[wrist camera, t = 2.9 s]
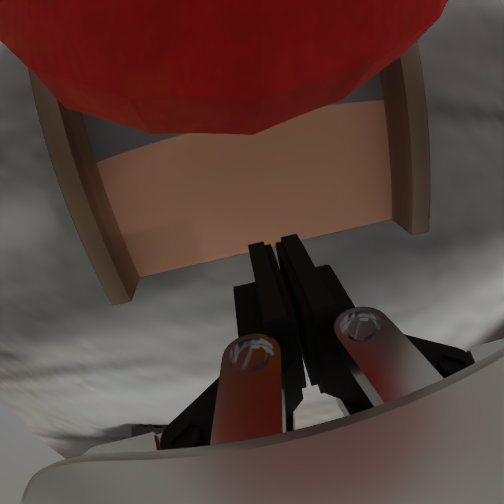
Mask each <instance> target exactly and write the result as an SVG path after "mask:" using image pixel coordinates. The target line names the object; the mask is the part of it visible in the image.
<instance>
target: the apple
mask: <svg viewBox="0 0 504 504" xmlns="http://www.w3.org/2000/svg"><path fill="white" fill-rule="evenodd" d="M447 1H448V0H0V41H1V42H2V43H4V44H5V45H6V46H7V47H8V48H9V49H10V50H11V51H12V52H13V53H14V54H15V55H16V56H17V57H18V58H19V59H20V60H21V61H22V62H23V63H24V64H25V65H26V66H27V67H28V68H29V69H30V70H31V71H32V72H33V74H34V75H35V76H36V77H37V78H38V79H39V80H40V81H41V82H42V83H43V84H44V85H45V86H46V88H47V89H48V90H49V91H50V92H51V93H52V94H53V95H54V96H55V97H56V98H57V99H58V100H59V101H60V102H61V103H62V105H63V106H64V107H65V108H68V109H71V110H75V111H78V112H82V113H85V114H89V115H92V116H96V117H99V118H102V119H105V120H109V121H112V122H115V123H118V124H122V125H125V126H128V127H131V128H134V129H137V130H140V131H143V132H146V133H149V134H173V133H207V134H241V135H255V134H257V133H259V132H261V131H264V130H266V129H268V128H271V127H273V126H276V125H278V124H280V123H283V122H285V121H288V120H290V119H293V118H295V117H298V116H300V115H303V114H305V113H308V112H310V111H313V110H316V109H318V108H321V107H324V106H326V105H329V104H332V103H335V102H337V101H340V100H343V99H344V98H345V97H347V96H348V95H349V94H351V93H352V92H353V91H354V90H356V89H357V88H358V87H360V86H361V85H362V84H364V83H365V82H366V81H368V80H369V79H370V78H372V77H373V76H374V75H376V74H377V73H378V72H380V71H381V70H382V69H384V68H385V67H387V66H388V65H389V64H391V63H392V62H393V61H395V60H396V59H398V58H399V57H400V56H402V55H403V54H404V53H405V52H406V51H407V50H408V49H409V48H410V47H411V46H412V45H413V44H414V43H415V42H416V41H417V40H418V39H419V38H420V37H421V36H422V35H423V34H424V33H425V32H426V31H427V30H428V29H429V28H430V27H431V26H432V25H433V24H434V23H435V22H436V21H437V20H438V19H439V18H440V16H441V14H442V12H443V10H444V7H445V5H446V3H447Z"/></svg>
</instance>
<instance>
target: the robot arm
mask: <svg viewBox="0 0 504 504" xmlns="http://www.w3.org/2000/svg"><path fill="white" fill-rule="evenodd" d="M275 244H276V250H277V255H278V260H279V266H280V269H279V266H278V263H277V260H276V257H275V255H274V252H273V249H272V246H271V244H268V245H265V244H264V242H263V241H262V242H258V243H254V244H249V245H248V249H249V253H250V258H251V263H252V267H253V272H254V277H255V282H253V283H248V284H244V285H240V286H235V287H234V299H235V309H236V318H237V328H238V337H239V338H238V339H236V340H234V341H233V342H232V343H230V344H229V345H228V347H227V348H226V349H225V351H224V354H223V357H222V363H221V370H220V377H219V378H218V379H217V380H215V381H214V382H213V383H212V384H211V385H210V386H209V387H208V388H207V389H206V390H205V391H204V392H203V393H202V394H201V395H200V396H199V397H198V398H197V399H196V400H195V401H194V402H193V403H192V404H190V405H189V406H188V407H187V408H186V409H185V410H184V411H183V412H182V413H181V414H180V415H179V416H178V417H177V418H175V419H174V420H173V421H172V422H171V423H170V424H169V425H168V426H167V427H166V429H165V430H164V431H163V433H161V434H157V435H156V434H155V433H154V432H151V433H147V434H143V435H139V436H136V437H132V438H128V439H124V440H119V441H115V442H111V443H106V444H102V445H97V446H94V447H92V448H90V449H89V450H88V451H86V452H85V453H84V455H83V456H78V457H73V458H68V459H65V460H62V461H59V462H56V463H53V464H51V465H49V466H47V467H45V468H43V469H41V470H39V471H38V472H37V473H36V474H35V475H33V476H32V478H31V479H30V481H29V482H28V485H27V486H26V488H25V491H24V493H23V496H22V499H21V503H20V504H504V338H503V339H500V340H496V341H492V342H489V343H485V344H481V345H477V346H473V347H469V348H468V351H467V352H465V351H464V350H461V349H459V348H456V347H452V346H448V345H444V344H440V343H436V342H432V341H428V340H424V339H420V338H416V337H412V336H408V335H405V334H403V333H402V332H401V331H400V330H399V329H398V328H397V327H396V326H395V325H394V323H393V322H392V321H391V320H390V319H389V318H388V317H387V316H386V315H385V314H384V313H382V312H381V311H379V310H377V309H374V308H370V307H356V308H355V306H354V304H353V303H352V301H351V299H350V298H349V296H348V294H347V293H346V291H345V289H344V288H343V286H342V285H341V283H340V281H339V280H338V278H337V276H336V275H335V273H334V272H333V270H332V268H331V267H330V266H329V265H323V266H319V267H315V266H314V264H313V262H312V260H311V259H310V257H309V255H308V253H307V251H306V249H305V248H304V246H303V244H302V242H301V240H300V239H299V237H298V235H297V234H292V235H288V236H284V237H281V242H277V243H275ZM302 357H303V359H302ZM303 360H304V363H305V366H306V370H307V373H308V376H309V379H310V382H311V385H312V386H313V385H317V384H318V386H319V389H320V392H321V393H326V394H329V395H331V396H334V397H336V401H337V403H338V406H339V407H340V409H341V411H342V413H343V414H344V416H345V417H342V418H339V419H335V420H332V421H328V422H325V423H321V424H317V425H314V426H310V427H306V428H302V429H298V430H295V416H294V410H295V409H296V408H297V406H298V405H299V404H300V402H301V401H302V400H303V394H302V388H306V379H305V372H304V366H303Z"/></svg>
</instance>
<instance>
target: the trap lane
mask: <svg viewBox="0 0 504 504" xmlns="http://www.w3.org/2000/svg"><path fill="white" fill-rule="evenodd" d="M28 69H29V68H28ZM29 75H30V80H31V85H32V90H33V94H34V99H35V103H36V107H37V112H38V116H39V119H40V123H41V127H42V131H43V134H44V138H45V141H46V145H47V148H48V151H49V155H50V158H51V161H52V164H53V167H54V170H55V173H56V176H57V179H58V182H59V185H60V188H61V191H62V193H63V196H64V199H65V201H66V204H67V207H68V209H69V212H70V214H71V217H72V219H73V222H74V224H75V227H76V229H77V232H78V234H79V236H80V239H81V241H82V243H83V246H84V248H85V250H86V252H87V255H88V257H89V259H90V261H91V263H92V265H93V268H94V270H95V272H96V274H97V276H98V278H99V280H100V282H101V284H102V286H103V288H104V290H105V292H106V294H107V296H108V298H109V300H110V302H111V304H112V305H117V304H121V303H126V302H131V301H132V298H133V295H134V292H135V289H136V286H137V284H138V281H139V278H140V277H144V276H149V275H153V274H157V273H162V272H166V271H170V270H175V269H179V268H183V267H188V266H192V265H196V264H201V263H205V262H209V261H213V260H218V259H222V258H226V257H231V256H235V255H239V254H244V253H248V252H249V249H248V245H249V244H254V243H258V242H262V241H263V242H264V244H265V245H268V244H271V246H272V247H274V246H276V244H275V243H277V242H281V237H284V236H288V235H292V234H297V235H298V237H299V239H300V240H304V239H308V238H313V237H317V236H321V235H326V234H330V233H334V232H339V231H343V230H347V229H352V228H356V227H360V226H365V225H369V224H373V223H378V222H382V221H386V220H391V219H393V220H394V221H395V222H396V223H397V224H399V225H400V226H401V227H402V228H403V229H405V230H406V231H407V232H408V233H409V234H411V235H412V236H413V235H417V234H421V233H424V232H428V231H429V218H430V148H429V130H428V118H427V107H426V98H425V89H424V82H423V75H422V68H421V62H420V56H419V51H418V45H417V41H416V42H415V43H414V44H413V45H412V46H411V47H410V48H409V49H408V50H407V51H406V52H405V53H404V54H403V55H402V56H400V57H399V58H398V59H396V60H395V61H393V62H392V63H391V64H389V65H388V66H387V67H385V68H384V69H382V70H381V71H380V72H378V73H377V74H376V75H374V76H373V77H372V78H370V79H369V80H368V81H366V82H365V83H364V84H362V85H361V86H360V87H358V88H357V89H356V90H354V91H353V92H352V93H351V94H349V95H348V96H347V97H345V98H344V99H343V100H340V101H337V102H335V103H332V104H329V105H326V106H324V107H321V108H318V109H316V110H313V111H310V112H308V113H305V114H303V115H300V116H298V117H295V118H293V119H290V120H288V121H285V122H283V123H280V124H278V125H276V126H273V127H271V128H268V129H266V130H264V131H261V132H259V133H257V134H255V135H241V134H207V133H173V134H149V133H146V132H143V131H140V130H137V129H134V128H131V127H128V126H125V125H122V124H118V123H115V122H112V121H109V120H105V119H102V118H99V117H96V116H92V115H89V114H85V113H82V112H78V111H75V110H71V109H68V108H65V107H64V106H63V105H62V103H61V102H60V101H59V100H58V99H57V98H56V97H55V96H54V95H53V94H52V93H51V92H50V91H49V90H48V89H47V88H46V86H45V85H44V84H43V83H42V82H41V81H40V80H39V79H38V78H37V77H36V76H35V75H34V74H33V72H32V71H31V70H30V69H29Z"/></svg>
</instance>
